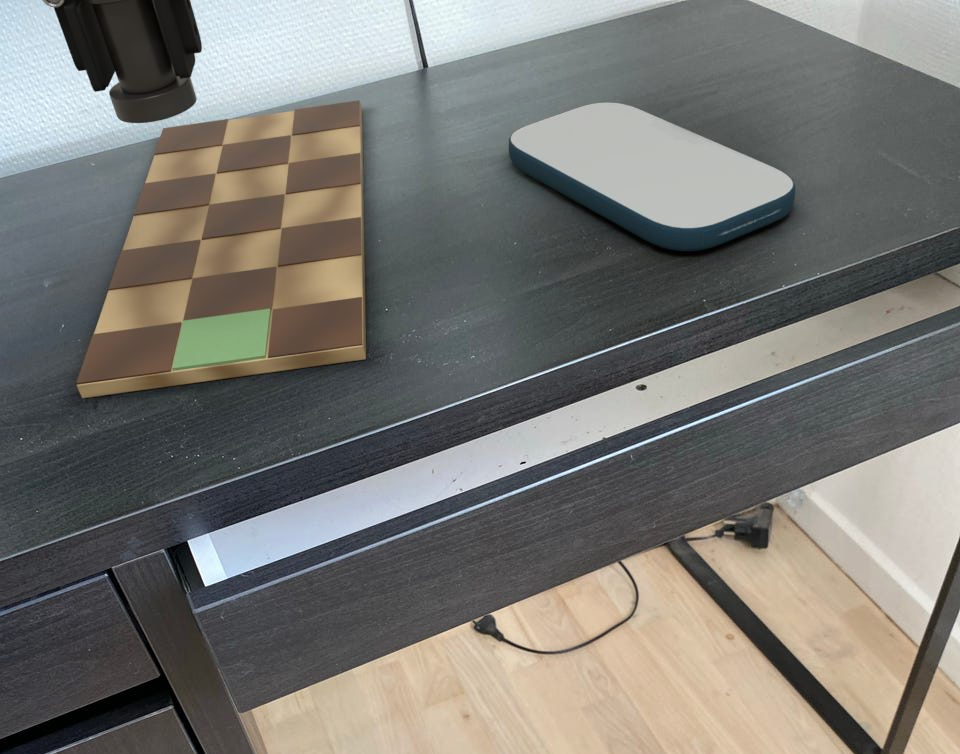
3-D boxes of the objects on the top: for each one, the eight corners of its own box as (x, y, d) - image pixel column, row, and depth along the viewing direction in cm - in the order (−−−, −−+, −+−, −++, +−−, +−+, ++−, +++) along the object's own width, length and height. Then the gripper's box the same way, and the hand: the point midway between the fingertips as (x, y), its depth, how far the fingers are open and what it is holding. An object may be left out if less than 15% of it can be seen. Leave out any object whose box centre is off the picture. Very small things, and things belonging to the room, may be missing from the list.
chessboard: (82, 399, 64) (75, 383, 63) (166, 140, 93) (162, 128, 92) (366, 359, 64) (363, 343, 63) (362, 112, 92) (360, 99, 92)
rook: (111, 128, 54) (55, -26, 49) (123, 99, 57) (72, -49, 52) (192, 115, 54) (145, -40, 49) (200, 87, 57) (156, -63, 52)
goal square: (173, 370, 63) (172, 368, 63) (183, 323, 67) (182, 320, 67) (265, 358, 63) (264, 355, 63) (270, 311, 67) (270, 308, 67)
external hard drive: (494, 162, 82) (491, 136, 80) (611, 120, 85) (610, 95, 84) (680, 268, 67) (682, 239, 66) (813, 213, 71) (817, 184, 69)
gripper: (201, -446, 44) (302, 31, 57) (-181, -385, 44) (9, 76, 57) (181, -449, 38) (297, 76, 52) (-251, -379, 39) (-25, 125, 52)
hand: (144, 72), depth 54 cm, fingers closed on rook, 3 cm apart
